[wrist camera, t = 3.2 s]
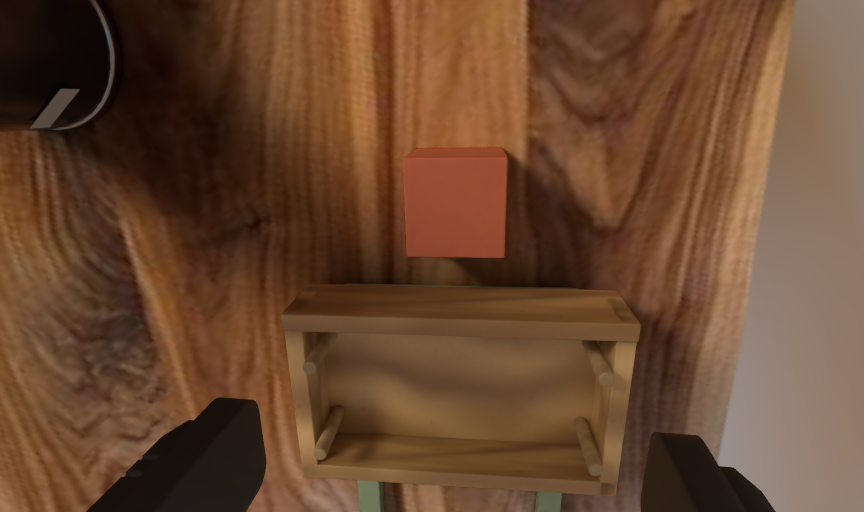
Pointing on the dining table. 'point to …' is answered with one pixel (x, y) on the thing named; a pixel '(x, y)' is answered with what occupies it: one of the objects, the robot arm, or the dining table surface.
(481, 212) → the block
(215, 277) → the dining table surface
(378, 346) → the open box
